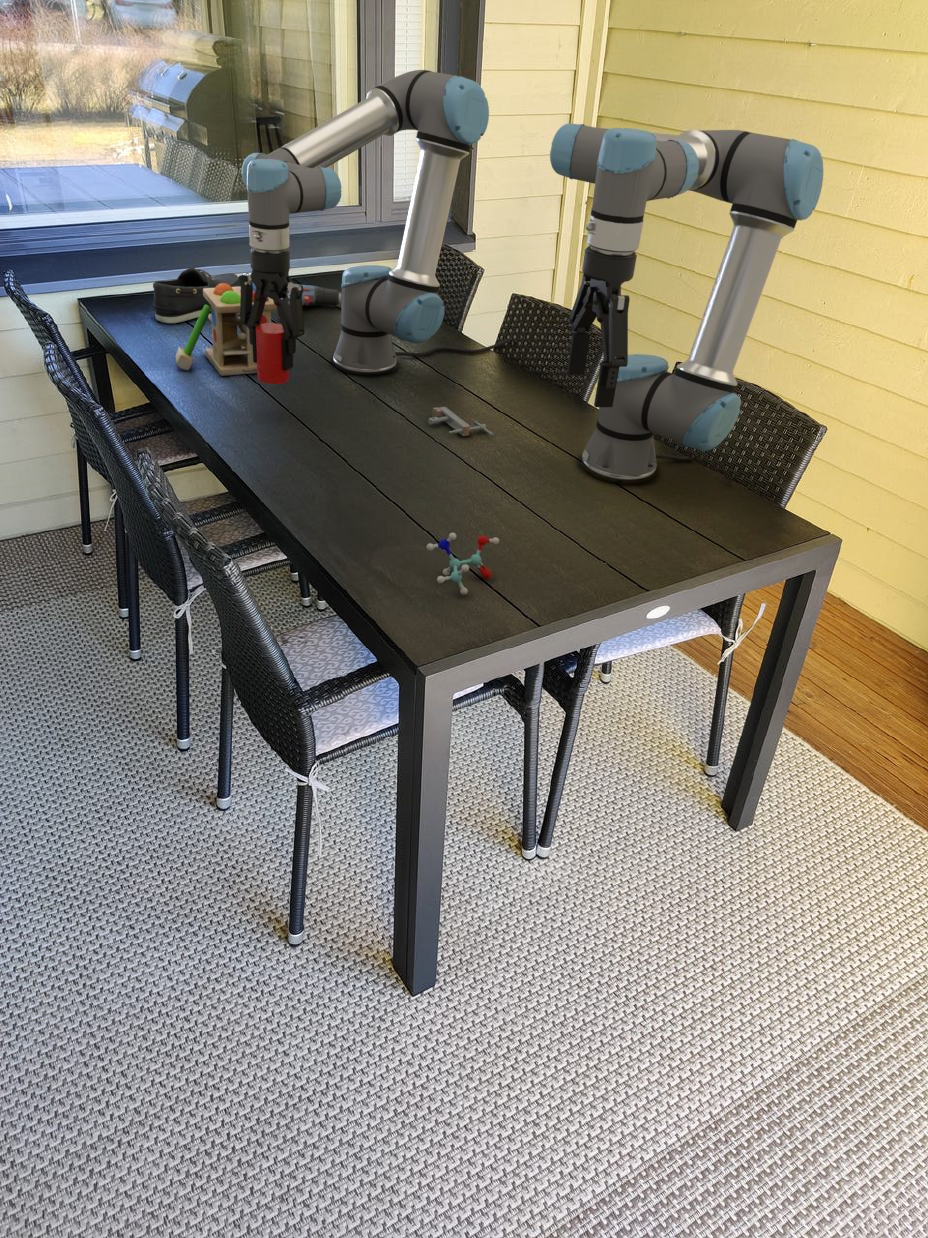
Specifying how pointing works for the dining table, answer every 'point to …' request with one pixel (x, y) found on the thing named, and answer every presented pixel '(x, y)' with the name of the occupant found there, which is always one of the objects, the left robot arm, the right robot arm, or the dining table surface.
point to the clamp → (455, 422)
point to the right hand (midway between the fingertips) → (588, 389)
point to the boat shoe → (186, 294)
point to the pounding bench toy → (225, 332)
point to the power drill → (318, 296)
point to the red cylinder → (270, 354)
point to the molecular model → (455, 563)
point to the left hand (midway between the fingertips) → (273, 364)
